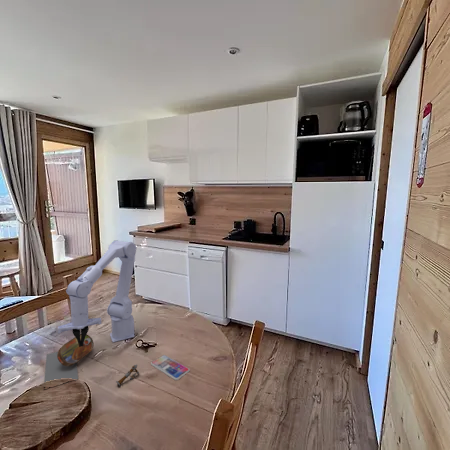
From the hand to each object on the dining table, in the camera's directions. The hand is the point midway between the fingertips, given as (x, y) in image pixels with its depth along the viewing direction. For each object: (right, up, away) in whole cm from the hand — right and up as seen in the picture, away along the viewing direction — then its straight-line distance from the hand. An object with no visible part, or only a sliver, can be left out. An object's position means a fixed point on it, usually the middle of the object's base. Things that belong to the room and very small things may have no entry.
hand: (81, 345), depth 100 cm
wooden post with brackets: (+22, -8, -9) cm, 25 cm away
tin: (0, -6, +1) cm, 6 cm away
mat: (-6, -7, -3) cm, 9 cm away
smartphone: (+35, -8, -2) cm, 36 cm away
